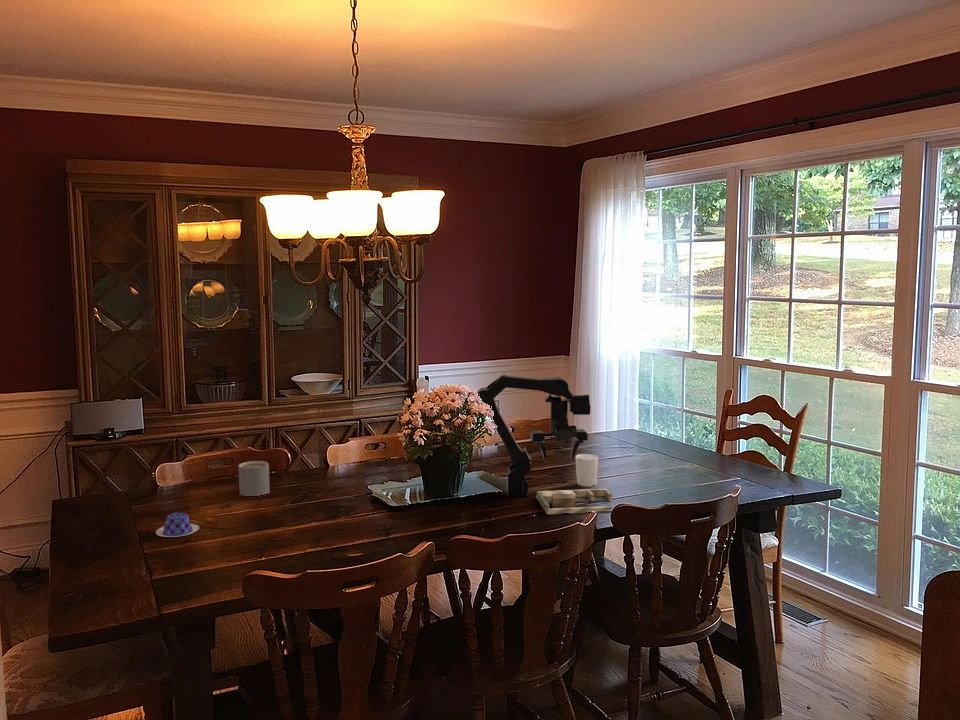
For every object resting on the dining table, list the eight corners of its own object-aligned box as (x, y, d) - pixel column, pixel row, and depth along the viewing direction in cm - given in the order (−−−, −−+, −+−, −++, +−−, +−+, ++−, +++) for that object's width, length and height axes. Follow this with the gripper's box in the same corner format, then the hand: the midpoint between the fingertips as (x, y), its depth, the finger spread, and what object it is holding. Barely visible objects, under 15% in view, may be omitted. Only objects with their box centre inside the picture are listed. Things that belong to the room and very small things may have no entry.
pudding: (147, 533, 233) (146, 516, 232) (185, 523, 242) (184, 506, 242) (169, 542, 226) (168, 524, 225) (207, 531, 235) (206, 514, 234)
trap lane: (547, 514, 249) (547, 506, 248) (536, 498, 265) (536, 491, 265) (621, 511, 252) (621, 503, 251) (606, 495, 268) (606, 488, 268)
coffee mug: (270, 495, 270) (269, 466, 268) (239, 498, 267) (238, 469, 266) (268, 485, 282) (267, 457, 281) (239, 487, 279) (238, 459, 278)
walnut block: (553, 510, 253) (553, 498, 253) (551, 505, 258) (551, 493, 258) (575, 510, 253) (575, 498, 253) (573, 505, 258) (573, 493, 258)
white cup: (580, 487, 278) (580, 460, 277) (572, 482, 286) (572, 454, 284) (601, 486, 280) (601, 458, 279) (592, 480, 288) (592, 453, 286)
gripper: (536, 420, 257) (535, 467, 259) (592, 418, 259) (591, 465, 261) (529, 413, 268) (529, 459, 270) (583, 412, 270) (583, 457, 272)
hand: (558, 460), depth 268 cm, fingers open, 9 cm apart
